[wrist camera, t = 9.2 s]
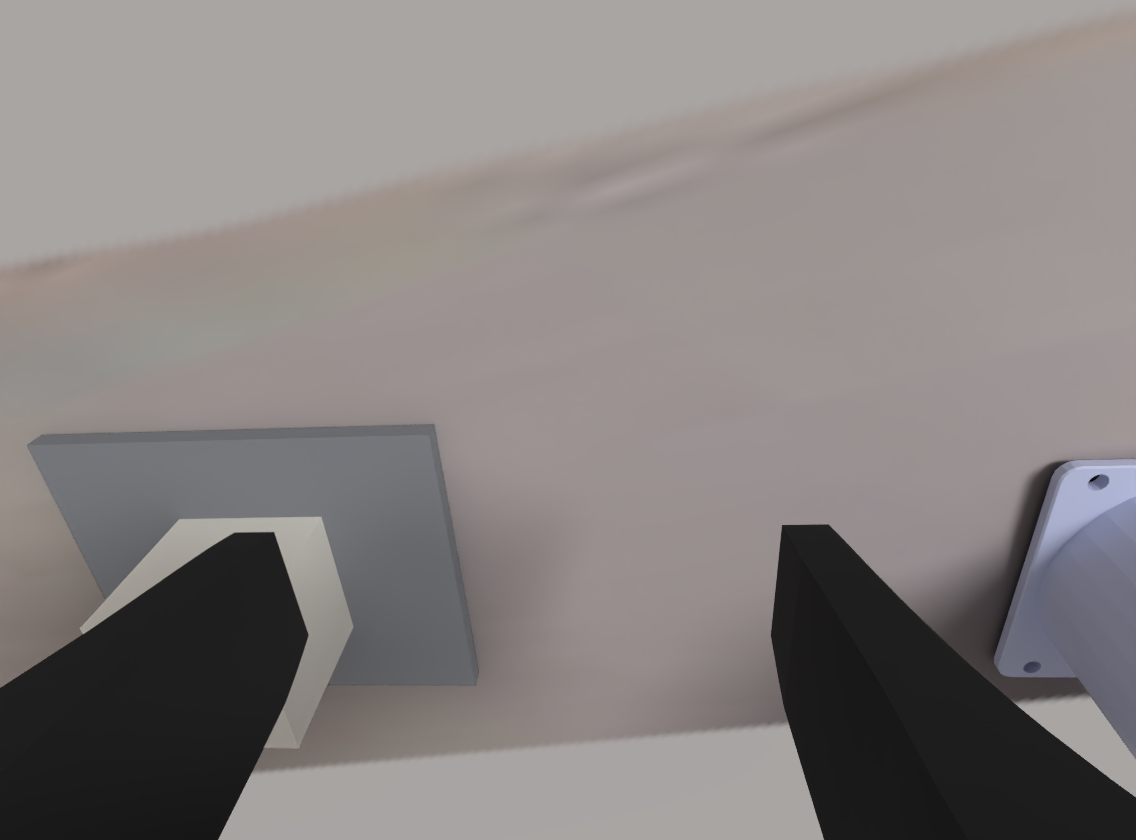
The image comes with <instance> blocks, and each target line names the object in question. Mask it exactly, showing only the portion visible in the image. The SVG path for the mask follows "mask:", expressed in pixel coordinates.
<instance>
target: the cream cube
mask: <svg viewBox="0 0 1136 840" xmlns="http://www.w3.org/2000/svg"><path fill="white" fill-rule="evenodd" d="M235 532H274V533H275V536H276V539H277V542H278V545H279V548H280V551H281V554H282V557H283V560H284V563H285V566H286V569H287V572H288V575H289V578H290V581H291V584H292V587H293V590H294V593H295V596H296V599H297V602H298V605H299V608H300V611H301V614H302V617H303V620H304V623H305V626H306V629H307V632H308V635H309V636H308V639H307V642H306V645H305V649H304V652H303V655H302V658H301V661H300V664H299V667H298V670H297V673H296V676H295V679H294V681H293V684H292V687H291V690H290V692H289V695H288V698H287V701H286V703H285V705H284V707H283V709H282V711H281V714H280V716H279V718H278V720H277V722H276V724H275V726H274V728H273V730H272V732H271V734H270V736H269V738H268V740H267V742H266V744H265V746H264V748H299V747H300V745H301V742H302V740H303V738H304V736H305V733H306V731H307V729H308V727H309V725H310V722H311V720H312V718H313V716H314V713H315V711H316V709H317V707H318V705H319V702H320V700H321V698H322V696H323V693H324V691H325V689H326V687H327V685H328V682H329V680H330V678H331V676H332V673H333V671H334V669H335V667H336V665H337V662H338V660H339V658H340V656H341V653H342V651H343V649H344V647H345V645H346V642H347V640H348V638H349V636H350V633H351V631H352V629H353V623H352V620H351V616H350V613H349V610H348V606H347V603H346V599H345V596H344V592H343V589H342V586H341V582H340V579H339V575H338V572H337V569H336V565H335V562H334V558H333V555H332V552H331V548H330V545H329V541H328V538H327V535H326V531H325V528H324V524H323V521H322V517H273V518H215V519H179V520H178V521H177V522H176V523H175V524H174V526H173V527H172V528H171V529H170V530H169V531H168V532H167V533H166V534H165V535H164V537H163V538H162V539H161V540H160V541H159V542H158V543H157V544H156V545H155V546H154V547H153V549H152V550H151V551H150V552H149V553H148V554H147V555H146V556H145V557H144V558H143V560H142V561H141V562H140V563H139V564H138V565H137V566H136V567H135V568H134V569H133V570H132V572H131V573H130V574H129V575H128V576H127V577H126V578H125V579H124V580H123V581H122V583H121V584H120V585H119V586H118V587H117V588H116V589H115V590H114V591H113V592H112V594H111V595H110V596H109V597H108V598H107V599H106V600H105V601H104V602H103V603H102V604H101V606H100V607H99V608H98V609H97V610H96V611H95V612H94V613H93V614H92V615H91V617H90V618H89V619H88V620H87V621H86V622H85V623H84V624H83V625H82V626H81V627H80V630H81V632H82V634H84V633H86V632H87V631H89V630H90V629H92V628H93V627H95V626H96V625H98V624H99V623H101V622H102V621H103V620H105V619H106V618H108V617H109V616H111V615H112V614H114V613H115V612H116V611H118V610H119V609H121V608H122V607H124V606H125V605H127V604H128V603H130V602H131V601H132V600H134V599H135V598H137V597H138V596H140V595H141V594H143V593H144V592H145V591H147V590H148V589H150V588H151V587H153V586H154V585H156V584H157V583H158V582H160V581H161V580H163V579H164V578H166V577H167V576H168V575H170V574H171V573H173V572H174V571H176V570H177V569H179V568H180V567H182V566H183V565H184V564H186V563H187V562H189V561H190V560H192V559H193V558H195V557H196V556H198V555H199V554H201V553H202V552H204V551H205V550H207V549H208V548H210V547H211V546H213V545H214V544H216V543H218V542H219V541H221V540H223V539H224V538H226V537H228V536H229V535H231V534H233V533H235Z"/></svg>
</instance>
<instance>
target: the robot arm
mask: <svg viewBox="0 0 1136 840" xmlns="http://www.w3.org/2000/svg"><path fill="white" fill-rule="evenodd" d="M1096 475H1099V477H1098V478H1097V479H1096V480H1094V481H1093V482H1089V481H1090V479H1091V478H1093V477H1094V476H1096ZM308 636H309V635H308V632H307V629H306V626H305V623H304V620H303V617H302V614H301V611H300V608H299V605H298V602H297V599H296V596H295V593H294V590H293V587H292V584H291V581H290V578H289V575H288V572H287V569H286V566H285V563H284V560H283V557H282V554H281V551H280V548H279V545H278V542H277V539H276V536H275V533H274V532H235V533H233V534H231V535H229V536H228V537H226V538H224V539H223V540H221V541H219V542H218V543H216V544H214V545H213V546H211V547H210V548H208V549H207V550H205V551H204V552H202V553H201V554H199V555H198V556H196V557H195V558H193V559H192V560H190V561H189V562H187V563H186V564H184V565H183V566H182V567H180V568H179V569H177V570H176V571H174V572H173V573H171V574H170V575H168V576H167V577H166V578H164V579H163V580H161V581H160V582H158V583H157V584H156V585H154V586H153V587H151V588H150V589H148V590H147V591H145V592H144V593H143V594H141V595H140V596H138V597H137V598H135V599H134V600H132V601H131V602H130V603H128V604H127V605H125V606H124V607H122V608H121V609H119V610H118V611H116V612H115V613H114V614H112V615H111V616H109V617H108V618H106V619H105V620H103V621H102V622H101V623H99V624H98V625H96V626H95V627H93V628H92V629H90V630H89V631H87V632H86V633H84V634H83V635H81V636H80V637H78V638H77V639H75V640H74V641H72V642H71V643H69V644H67V645H66V646H64V647H63V648H61V649H60V650H58V651H57V652H55V653H54V654H52V655H51V656H49V657H47V658H46V659H44V660H43V661H41V662H40V663H38V664H37V665H35V666H34V667H32V668H30V669H29V670H27V671H26V672H24V673H23V674H21V675H20V676H18V677H17V678H15V679H13V680H12V681H10V682H9V683H7V684H6V685H4V686H3V687H1V688H0V840H218V839H219V837H220V835H221V833H222V831H223V829H224V827H225V825H226V822H227V821H228V819H229V816H230V815H231V813H232V811H233V809H234V807H235V805H236V803H237V801H238V799H239V797H240V795H241V793H242V791H243V788H244V787H245V785H246V783H247V781H248V779H249V777H250V775H251V773H252V771H253V769H254V767H255V765H256V763H257V761H258V759H259V757H260V755H261V753H262V751H263V749H264V746H265V744H266V742H267V740H268V738H269V736H270V734H271V732H272V730H273V728H274V726H275V724H276V722H277V720H278V718H279V716H280V714H281V711H282V709H283V707H284V705H285V703H286V701H287V698H288V695H289V692H290V690H291V687H292V684H293V681H294V679H295V676H296V673H297V670H298V667H299V664H300V661H301V658H302V655H303V652H304V649H305V645H306V642H307V639H308ZM771 638H772V644H773V650H774V656H775V661H776V667H777V673H778V678H779V683H780V689H781V694H782V699H783V705H784V708H785V712H786V715H787V719H788V722H789V725H790V729H791V732H792V735H793V739H794V742H795V745H796V749H797V752H798V755H799V759H800V762H801V765H802V768H803V772H804V775H805V779H806V782H807V785H808V788H809V791H810V795H811V798H812V801H813V805H814V808H815V811H816V815H817V818H818V821H819V824H820V828H821V831H822V834H823V837H824V840H1136V797H1134V796H1133V795H1132V794H1130V793H1129V792H1128V791H1126V790H1125V789H1123V788H1122V787H1121V786H1119V785H1118V784H1116V783H1115V782H1114V781H1112V780H1111V779H1110V778H1109V777H1107V776H1106V775H1104V774H1103V773H1102V772H1101V771H1099V770H1098V769H1097V768H1095V767H1094V766H1093V765H1092V764H1090V763H1089V762H1088V761H1086V760H1085V759H1084V758H1082V757H1081V756H1080V755H1078V754H1077V753H1076V752H1074V751H1073V750H1072V749H1071V748H1069V747H1068V746H1066V744H1064V743H1063V742H1062V741H1060V740H1059V739H1058V738H1056V737H1055V736H1054V735H1052V734H1051V733H1050V732H1048V731H1047V730H1046V729H1045V728H1044V727H1042V726H1041V725H1040V724H1039V723H1037V722H1036V721H1035V720H1034V719H1033V718H1031V717H1030V716H1029V715H1028V714H1026V713H1025V712H1024V711H1023V710H1022V709H1020V708H1019V707H1018V706H1017V705H1015V704H1014V703H1013V702H1012V701H1011V700H1010V699H1009V698H1007V697H1006V696H1005V695H1004V694H1003V693H1002V692H1000V691H999V690H998V689H997V688H996V687H995V686H994V685H992V684H991V683H990V682H989V681H988V680H987V679H985V678H984V677H983V676H982V675H981V674H980V673H979V672H977V671H976V670H975V669H974V668H973V667H972V666H971V665H970V664H968V663H967V662H966V661H965V660H964V659H963V658H962V657H961V656H960V655H959V654H958V653H956V652H955V651H954V650H953V649H952V648H951V647H950V646H949V645H948V644H947V643H946V642H945V641H944V640H943V639H942V638H941V637H940V636H939V635H937V634H936V633H935V632H934V631H933V630H932V629H931V628H930V627H929V626H928V625H927V624H926V623H925V622H924V621H923V620H922V619H921V618H920V617H919V616H918V615H917V614H916V613H915V612H913V611H912V610H911V609H910V608H909V607H908V606H907V605H906V604H905V603H904V602H903V601H902V600H901V599H900V598H899V597H898V596H897V595H896V594H895V593H894V592H893V591H892V589H891V588H890V587H889V586H888V585H887V584H886V583H885V582H884V581H883V580H882V579H881V578H880V577H879V576H878V575H877V574H876V573H875V572H874V571H873V570H872V569H871V568H870V567H869V566H868V565H867V564H866V563H865V562H864V561H863V560H862V558H861V557H860V556H859V555H858V554H857V553H856V552H855V551H854V550H853V549H852V548H851V547H850V546H849V545H848V544H847V543H846V542H845V541H844V540H843V539H842V538H841V537H840V536H839V535H838V534H837V533H836V531H834V530H833V529H832V528H831V527H830V526H829V525H782V532H781V542H780V552H779V561H778V571H777V581H776V591H775V601H774V611H773V620H772V630H771ZM994 664H995V666H996V667H997V669H998V671H999V672H1000V674H1002V675H1004V676H1007V677H1074V678H1078V679H1079V681H1080V682H1081V684H1082V685H1083V686H1084V688H1085V689H1086V690H1087V692H1088V693H1089V695H1090V696H1091V697H1092V699H1093V700H1094V702H1095V703H1096V704H1097V706H1098V707H1099V709H1100V710H1101V711H1102V713H1103V714H1104V716H1105V717H1106V718H1107V720H1108V721H1109V723H1110V724H1111V725H1112V727H1113V728H1114V730H1115V731H1116V732H1117V734H1118V735H1119V736H1120V738H1121V739H1122V741H1123V742H1124V743H1125V745H1126V746H1127V748H1128V749H1129V750H1130V752H1131V753H1132V755H1133V756H1134V757H1135V759H1136V459H1117V460H1076V461H1070V462H1067V463H1065V464H1063V465H1061V466H1060V467H1059V468H1057V469H1056V470H1055V472H1054V474H1053V475H1052V478H1051V481H1050V484H1049V487H1048V490H1047V493H1046V497H1045V500H1044V503H1043V506H1042V509H1041V512H1040V515H1039V518H1038V522H1037V525H1036V528H1035V531H1034V534H1033V537H1032V540H1031V544H1030V547H1029V550H1028V553H1027V556H1026V559H1025V562H1024V565H1023V569H1022V572H1021V575H1020V578H1019V581H1018V584H1017V587H1016V591H1015V594H1014V597H1013V600H1012V603H1011V606H1010V609H1009V612H1008V616H1007V619H1006V622H1005V625H1004V628H1003V631H1002V634H1001V638H1000V641H999V644H998V647H997V650H996V653H995V656H994Z"/></svg>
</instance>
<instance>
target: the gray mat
mask: <svg viewBox="0 0 1136 840" xmlns="http://www.w3.org/2000/svg"><path fill="white" fill-rule="evenodd" d="M27 447H28V449H29V451H30V453H31V455H32V457H33V459H34V461H35V463H36V465H37V467H38V468H39V470H40V472H41V474H42V476H43V478H44V480H45V482H46V484H47V486H48V488H49V490H50V492H51V494H52V496H53V498H54V500H55V502H56V504H57V506H58V508H59V510H60V512H61V514H62V516H63V518H64V519H65V521H66V523H67V525H68V527H69V529H70V531H71V533H72V535H73V537H74V539H75V541H76V543H77V545H78V547H79V549H80V551H81V553H82V555H83V557H84V559H85V561H86V563H87V565H88V567H89V569H90V570H91V572H92V574H93V576H94V578H95V580H96V582H97V584H98V586H99V588H100V590H101V592H102V594H103V596H104V598H105V600H106V599H107V598H108V597H109V596H110V595H111V594H112V592H113V591H114V590H115V589H116V588H117V587H118V586H119V585H120V584H121V583H122V581H123V580H124V579H125V578H126V577H127V576H128V575H129V574H130V573H131V572H132V570H133V569H134V568H135V567H136V566H137V565H138V564H139V563H140V562H141V561H142V560H143V558H144V557H145V556H146V555H147V554H148V553H149V552H150V551H151V550H152V549H153V547H154V546H155V545H156V544H157V543H158V542H159V541H160V540H161V539H162V538H163V537H164V535H165V534H166V533H167V532H168V531H169V530H170V529H171V528H172V527H173V526H174V524H175V523H176V522H177V521H178V520H179V519H215V518H273V517H322V521H323V524H324V528H325V531H326V535H327V538H328V541H329V545H330V548H331V552H332V555H333V558H334V562H335V565H336V569H337V572H338V575H339V579H340V582H341V586H342V589H343V592H344V596H345V599H346V603H347V606H348V610H349V613H350V616H351V620H352V623H353V629H352V631H351V633H350V636H349V638H348V640H347V642H346V645H345V647H344V649H343V651H342V653H341V656H340V658H339V660H338V662H337V665H336V667H335V669H334V671H333V673H332V676H331V678H330V680H329V682H328V685H459V686H476V682H477V677H478V673H479V671H478V665H477V660H476V654H475V648H474V643H473V637H472V632H471V626H470V621H469V615H468V610H467V604H466V599H465V593H464V588H463V582H462V576H461V571H460V565H459V560H458V554H457V549H456V543H455V538H454V532H453V527H452V521H451V516H450V510H449V504H448V499H447V493H446V488H445V482H444V477H443V471H442V466H441V460H440V455H439V449H438V444H437V438H436V432H435V427H434V424H430V425H393V426H356V427H319V428H282V429H245V430H208V431H171V432H134V433H97V434H60V435H41V436H39V437H38V438H37V439H35V440H34V441H32V442H31V443H29V444H28V445H27Z"/></svg>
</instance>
